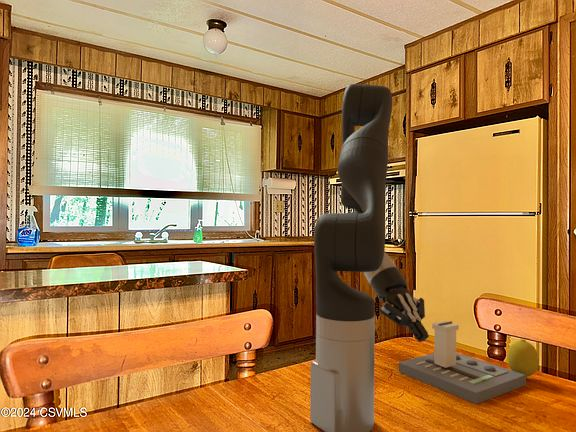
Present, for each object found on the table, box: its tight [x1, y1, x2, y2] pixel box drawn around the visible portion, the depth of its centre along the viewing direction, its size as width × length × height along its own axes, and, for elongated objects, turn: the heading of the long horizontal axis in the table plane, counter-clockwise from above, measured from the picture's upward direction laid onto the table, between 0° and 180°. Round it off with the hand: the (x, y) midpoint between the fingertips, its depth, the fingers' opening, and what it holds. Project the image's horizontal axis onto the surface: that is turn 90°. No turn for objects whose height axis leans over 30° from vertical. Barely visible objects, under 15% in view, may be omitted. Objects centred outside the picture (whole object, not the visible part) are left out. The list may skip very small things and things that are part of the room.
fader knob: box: [431, 321, 460, 368], centre depth 87 cm, size 4×3×8 cm
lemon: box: [507, 338, 540, 378], centre depth 86 cm, size 6×6×8 cm
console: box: [398, 352, 527, 405], centre depth 86 cm, size 16×18×3 cm
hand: (424, 339), depth 91 cm, fingers closed
